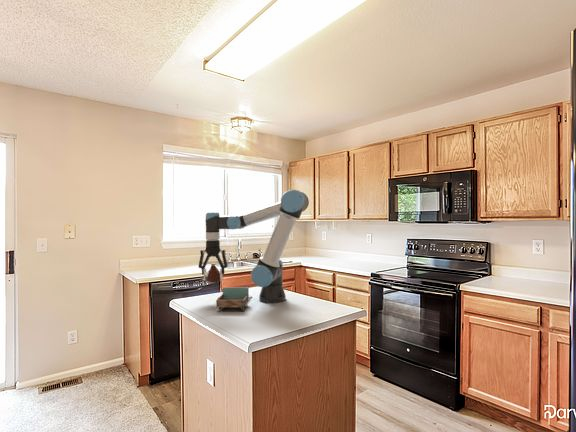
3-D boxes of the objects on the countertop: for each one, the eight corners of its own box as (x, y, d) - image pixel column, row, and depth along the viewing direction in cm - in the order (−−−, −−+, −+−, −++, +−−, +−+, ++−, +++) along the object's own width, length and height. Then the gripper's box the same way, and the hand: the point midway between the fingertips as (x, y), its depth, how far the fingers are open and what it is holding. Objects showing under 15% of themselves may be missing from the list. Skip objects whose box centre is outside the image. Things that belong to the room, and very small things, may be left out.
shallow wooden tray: (248, 303, 178) (248, 287, 178) (244, 310, 164) (244, 293, 164) (222, 303, 178) (222, 287, 179) (216, 310, 164) (216, 293, 165)
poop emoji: (219, 282, 180) (218, 265, 180) (203, 282, 180) (203, 265, 180) (222, 279, 190) (222, 262, 190) (208, 279, 190) (208, 263, 190)
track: (252, 297, 196) (252, 296, 196) (243, 312, 164) (243, 311, 164) (230, 297, 196) (230, 296, 196) (217, 311, 164) (217, 311, 164)
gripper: (232, 239, 188) (233, 279, 188) (196, 239, 189) (196, 279, 189) (230, 240, 181) (230, 281, 181) (191, 240, 182) (192, 281, 181)
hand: (213, 280), depth 185 cm, fingers closed on poop emoji, 8 cm apart
